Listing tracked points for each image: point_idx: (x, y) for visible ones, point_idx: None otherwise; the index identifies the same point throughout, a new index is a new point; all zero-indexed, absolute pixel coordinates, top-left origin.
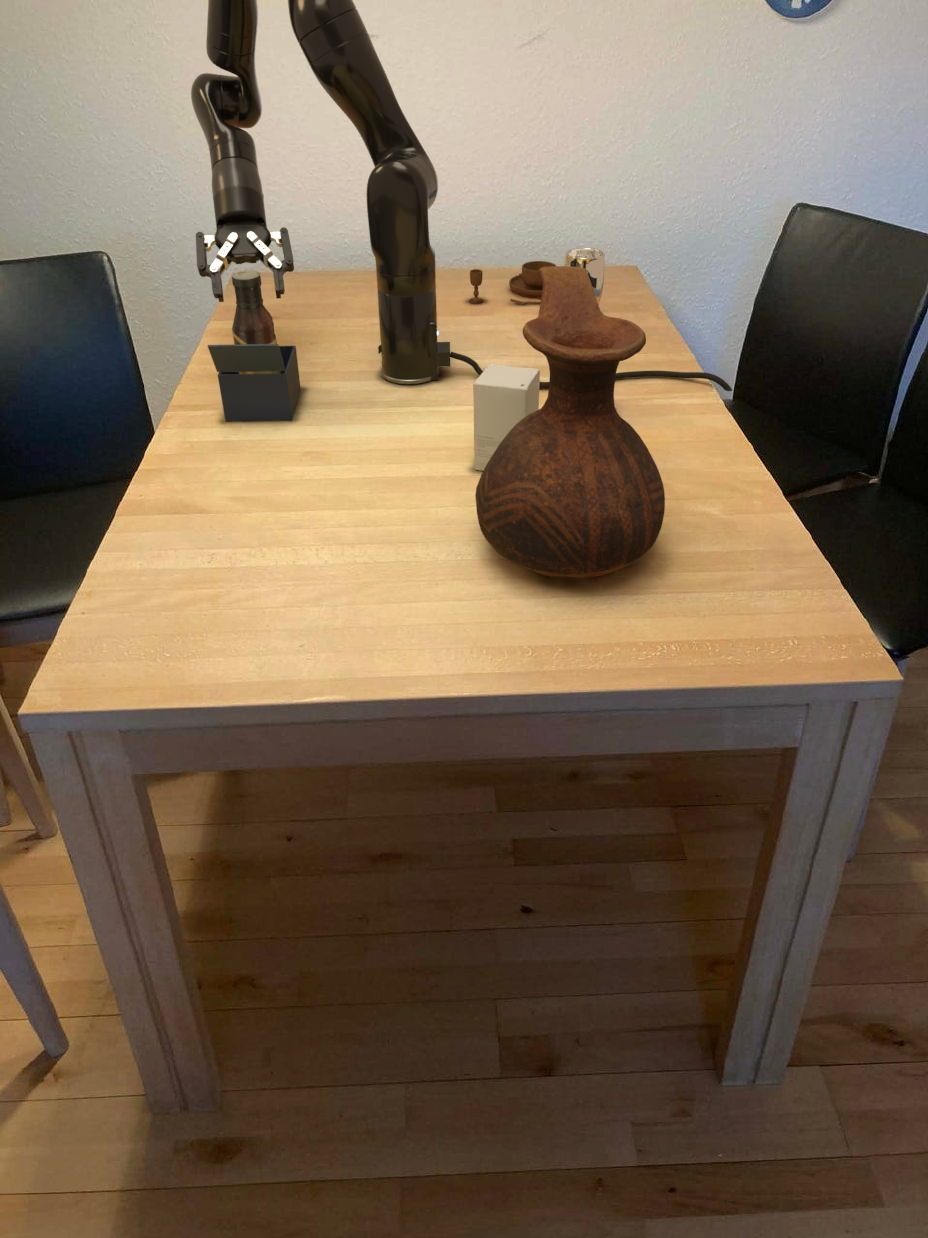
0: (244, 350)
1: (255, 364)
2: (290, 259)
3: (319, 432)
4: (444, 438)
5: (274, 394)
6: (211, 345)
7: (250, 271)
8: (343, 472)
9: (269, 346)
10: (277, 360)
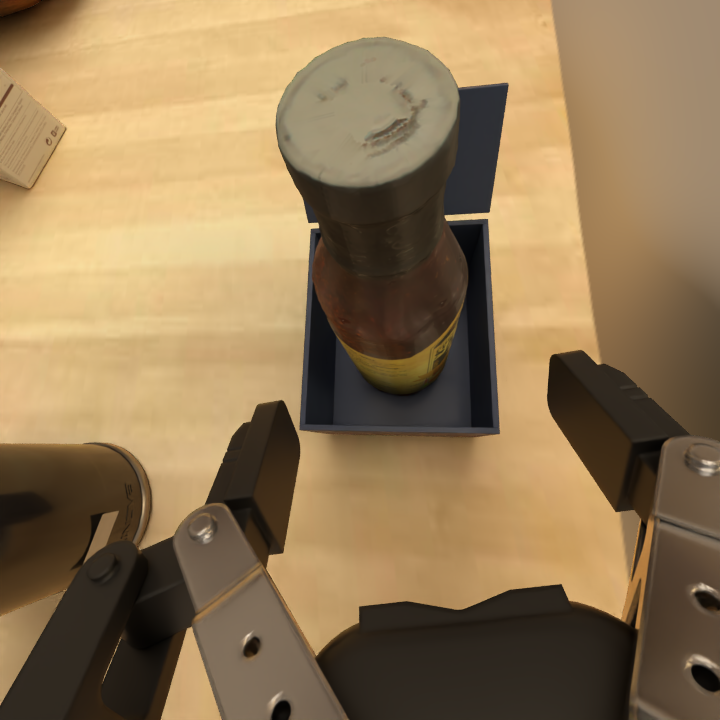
0: None
1: None
2: (93, 561)
3: (282, 234)
4: (86, 218)
5: None
6: (494, 84)
7: (339, 157)
8: (243, 110)
9: None
10: None
